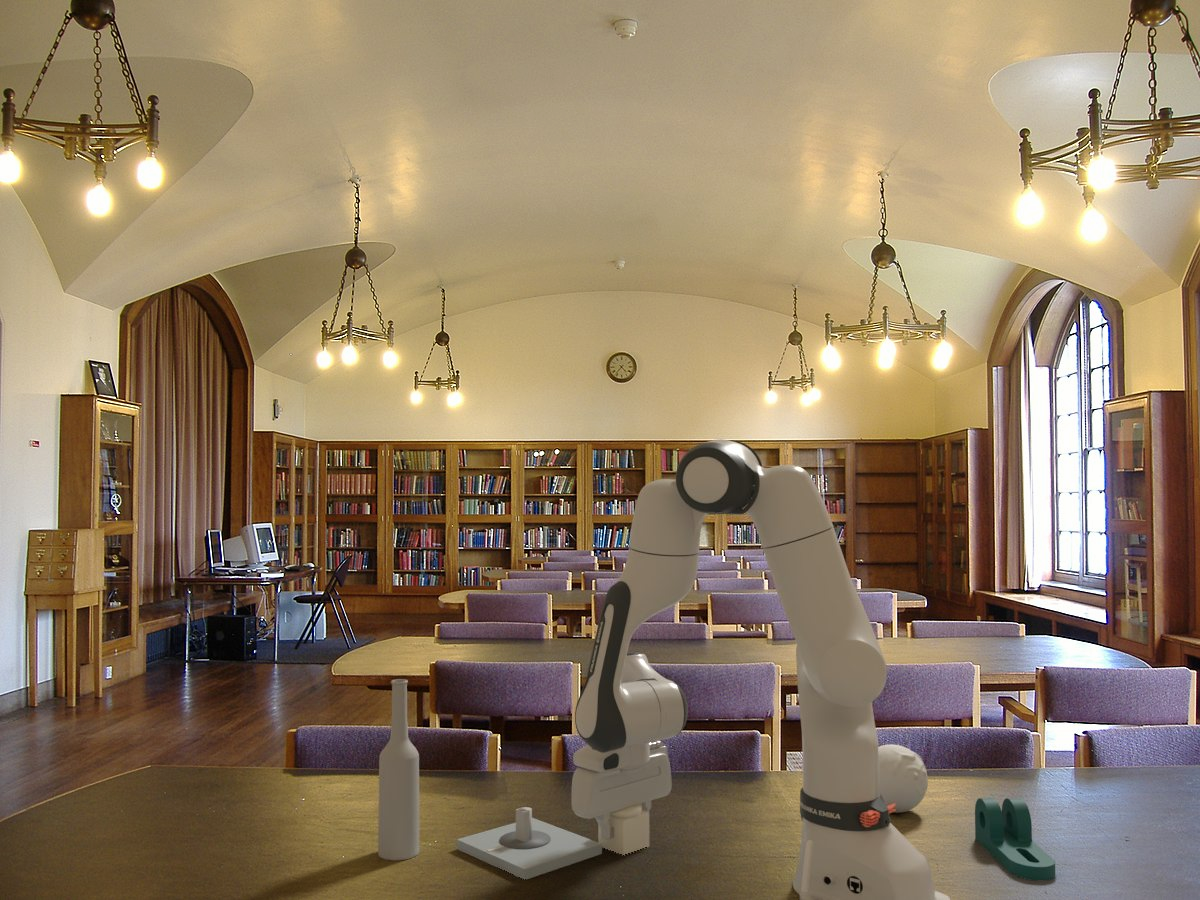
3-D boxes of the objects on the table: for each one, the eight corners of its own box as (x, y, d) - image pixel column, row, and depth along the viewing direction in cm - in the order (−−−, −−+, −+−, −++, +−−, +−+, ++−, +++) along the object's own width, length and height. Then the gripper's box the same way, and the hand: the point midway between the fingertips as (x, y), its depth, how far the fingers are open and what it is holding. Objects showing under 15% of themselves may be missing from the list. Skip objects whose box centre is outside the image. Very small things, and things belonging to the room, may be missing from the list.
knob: (649, 846, 165) (649, 803, 165) (623, 855, 161) (623, 811, 161) (624, 837, 169) (624, 795, 169) (598, 846, 165) (598, 802, 165)
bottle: (370, 853, 162) (371, 680, 163) (404, 843, 167) (405, 675, 168) (392, 864, 157) (393, 686, 159) (427, 853, 162) (427, 680, 163)
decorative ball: (903, 826, 174) (902, 757, 175) (847, 809, 183) (846, 744, 184) (941, 812, 182) (940, 746, 182) (885, 797, 191) (884, 734, 192)
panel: (601, 853, 161) (601, 812, 162) (524, 880, 151) (524, 835, 151) (532, 826, 175) (532, 788, 175) (456, 849, 164) (457, 808, 164)
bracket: (975, 840, 168) (974, 793, 168) (1015, 840, 168) (1014, 793, 168) (1018, 881, 150) (1017, 829, 150) (1063, 882, 150) (1062, 829, 150)
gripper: (653, 735, 175) (653, 814, 174) (565, 756, 161) (565, 842, 160) (679, 741, 170) (680, 823, 170) (591, 764, 156) (591, 853, 156)
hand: (623, 833), depth 165 cm, fingers closed on knob, 6 cm apart
